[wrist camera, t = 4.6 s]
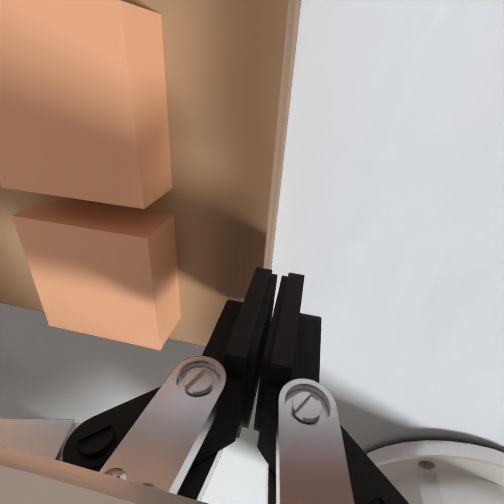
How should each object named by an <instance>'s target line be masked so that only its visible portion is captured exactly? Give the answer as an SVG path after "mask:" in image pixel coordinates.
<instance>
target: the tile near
mask: <svg viewBox="0 0 504 504" xmlns="http://www.w3.org/2000/svg"><path fill="white" fill-rule="evenodd" d="M0 183H1V186H2V188H8V189H14V190H21V191H28V192H34V193H41V194H48V195H54V196H61V197H68V198H74V199H81V200H87V201H94V202H101V203H107V204H114V205H121V206H127V207H134V208H141V209H145V208H146V207H148V206H149V205H150V204H152V203H153V202H154V201H156V200H157V199H159V198H160V197H161V196H163V195H164V194H165V193H167V192H168V191H170V190H171V189H172V175H171V160H170V144H169V129H168V113H167V98H166V82H165V67H164V51H163V36H162V20H161V14H159V13H156V12H153V11H150V10H147V9H144V8H142V7H139V6H136V5H133V4H130V3H127V2H124V1H121V0H0Z"/></svg>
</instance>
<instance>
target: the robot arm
mask: <svg viewBox="0 0 504 504" xmlns="http://www.w3.org/2000/svg"><path fill="white" fill-rule="evenodd" d="M276 282H277V275H276V274H272V270H271V269H266V268H260V267H256V270H255V272H254V275H253V278H252V280H251V283H250V286H249V288H248V291H247V294H246V296H245V299H244V302H240V301H235V300H230V299H228V300H227V302H226V303H225V306H224V308H223V310H222V312H221V315H220V317H219V319H218V321H217V323H216V326H215V328H214V330H213V332H212V335H211V337H210V339H209V341H208V344H207V346H206V348H205V350H204V352H203V355H202V356H195V357H191V358H188V359H186V360H184V361H182V362H181V363H179V364H178V365H177V366H176V367H175V369H174V370H173V371H172V373H171V374H170V375H169V377H168V378H167V379H166V381H165V382H164V384H163V385H162V386H161V387H159V388H157V389H154V390H152V391H150V392H148V393H145V394H143V395H141V396H139V397H136V398H134V399H132V400H130V401H127V402H125V403H123V404H121V405H118V406H116V407H114V408H112V409H109V410H107V411H105V412H103V413H100V414H98V415H96V416H94V417H92V418H90V419H88V420H86V421H85V422H83V423H75V422H74V419H0V504H208V503H204V502H201V500H202V498H203V496H204V493H205V491H206V489H207V486H208V484H209V482H210V480H211V477H212V475H213V473H214V471H215V468H216V466H217V464H218V462H219V459H220V457H221V454H222V450H223V448H225V447H226V446H228V445H230V444H231V443H233V442H235V439H236V437H237V438H239V435H240V431H241V427H246V428H248V427H249V423H250V418H251V414H252V410H253V405H254V401H255V396H256V392H257V388H258V383H259V390H258V398H257V406H256V414H255V422H254V430H257V431H259V438H258V445H257V447H258V449H259V451H260V452H261V454H262V455H263V457H264V459H265V460H266V462H267V468H266V504H504V452H501V451H498V450H495V449H492V448H488V447H484V446H479V445H475V444H471V443H463V442H454V441H440V440H422V441H411V442H402V443H398V444H393V445H388V446H385V447H382V448H379V449H377V450H374V451H371V452H369V453H368V454H365V452H364V451H363V450H362V449H361V448H360V447H359V446H358V444H357V443H356V442H355V441H354V440H353V439H352V438H351V436H350V435H349V434H348V433H347V432H346V431H345V430H344V428H343V427H342V426H341V425H340V421H339V416H338V410H337V405H336V403H335V400H334V397H333V396H332V395H331V393H330V392H329V390H327V389H326V388H325V387H324V386H323V385H321V384H319V371H320V344H321V317H318V316H313V315H307V314H302V313H300V307H301V299H302V291H303V283H304V275H300V274H294V273H289V275H288V277H287V276H282V278H281V282H280V287H279V291H278V295H277V300H276V304H275V308H274V312H273V305H274V297H275V290H276ZM272 312H273V317H272ZM271 320H272V321H271ZM259 379H260V382H259Z"/></svg>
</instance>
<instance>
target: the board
mask: <svg viewBox="0 0 504 504" xmlns="http://www.w3.org/2000/svg"><path fill="white" fill-rule="evenodd" d="M121 1H124V2H127V3H130V4H133V5H136V6H139V7H142V8H144V9H147V10H150V11H153V12H156V13H159V14H161V20H162V36H163V51H164V67H165V82H166V98H167V113H168V129H169V144H170V160H171V175H172V189H171V190H170V191H168V192H167V193H165V194H164V195H163V196H161V197H160V198H159V199H157V200H156V201H154V202H153V203H152V204H150V205H149V206H148V207H146V208H145V209H141V208H134V207H128V208H134V209H141V210H148V211H154V212H161V213H168V214H174V222H175V237H176V253H177V268H178V284H179V299H180V315H181V318H180V319H179V321H178V323H177V324H176V326H175V327H174V329H173V331H172V332H171V334H170V335H169V337H168V339H172V340H177V341H182V342H186V343H191V344H196V345H200V346H205V347H206V346H207V344H208V341H209V339H210V337H211V335H212V332H213V330H214V328H215V326H216V323H217V321H218V319H219V317H220V315H221V312H222V310H223V308H224V306H225V303H226V302H227V300H228V299H230V300H235V301H240V302H244V299H245V296H246V294H247V291H248V288H249V286H250V283H251V280H252V278H253V275H254V272H255V270H256V267H260V268H266V269H271V267H272V258H273V249H274V240H275V231H276V222H277V213H278V204H279V195H280V186H281V177H282V168H283V159H284V149H285V140H286V131H287V122H288V113H289V104H290V95H291V86H292V77H293V68H294V59H295V50H296V41H297V32H298V23H299V14H300V5H301V0H121ZM53 197H61V196H54V195H48V194H41V193H34V192H28V191H21V190H14V189H8V188H2V186H1V183H0V303H5V304H10V305H14V306H19V307H24V308H28V309H33V310H38V311H42V312H44V309H43V306H42V303H41V300H40V298H39V295H38V292H37V289H36V286H35V283H34V280H33V277H32V274H31V271H30V268H29V265H28V262H27V259H26V256H25V253H24V251H23V248H22V245H21V242H20V239H19V236H18V233H17V230H16V227H15V224H14V221H13V218H12V216H13V215H15V214H17V213H19V212H22V211H24V210H26V209H28V208H31V207H33V206H35V205H37V204H39V203H42V202H44V201H46V200H48V199H51V198H53ZM62 198H68V197H62ZM68 199H74V198H68ZM75 200H81V199H75ZM81 201H87V200H81ZM88 202H94V201H88ZM95 203H101V202H95ZM101 204H107V203H101ZM108 205H114V204H108ZM115 206H121V205H115ZM121 207H127V206H121Z"/></svg>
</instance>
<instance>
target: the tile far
mask: <svg viewBox="0 0 504 504" xmlns="http://www.w3.org/2000/svg"><path fill="white" fill-rule="evenodd" d="M12 218H13V221H14V224H15V227H16V230H17V233H18V236H19V239H20V242H21V245H22V248H23V251H24V253H25V256H26V259H27V262H28V265H29V268H30V271H31V274H32V277H33V280H34V283H35V286H36V289H37V292H38V295H39V298H40V300H41V303H42V306H43V309H44V312H45V315H46V318H47V321H48V324H49V326H52V327H57V328H61V329H66V330H70V331H75V332H80V333H84V334H89V335H93V336H98V337H102V338H107V339H111V340H116V341H120V342H125V343H129V344H134V345H138V346H143V347H147V348H152V349H156V350H161V348H162V347H163V345H164V344H165V342H166V340H167V339H168V337H169V335H170V334H171V332H172V331H173V329H174V327H175V326H176V324H177V323H178V321H179V319H180V318H181V315H180V299H179V284H178V268H177V253H176V237H175V222H174V214H168V213H161V212H154V211H148V210H141V209H134V208H128V207H121V206H115V205H108V204H101V203H95V202H88V201H81V200H75V199H68V198H62V197H53V198H51V199H48V200H46V201H44V202H42V203H39V204H37V205H35V206H33V207H31V208H28V209H26V210H24V211H22V212H19V213H17V214H15V215H13V216H12Z"/></svg>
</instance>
